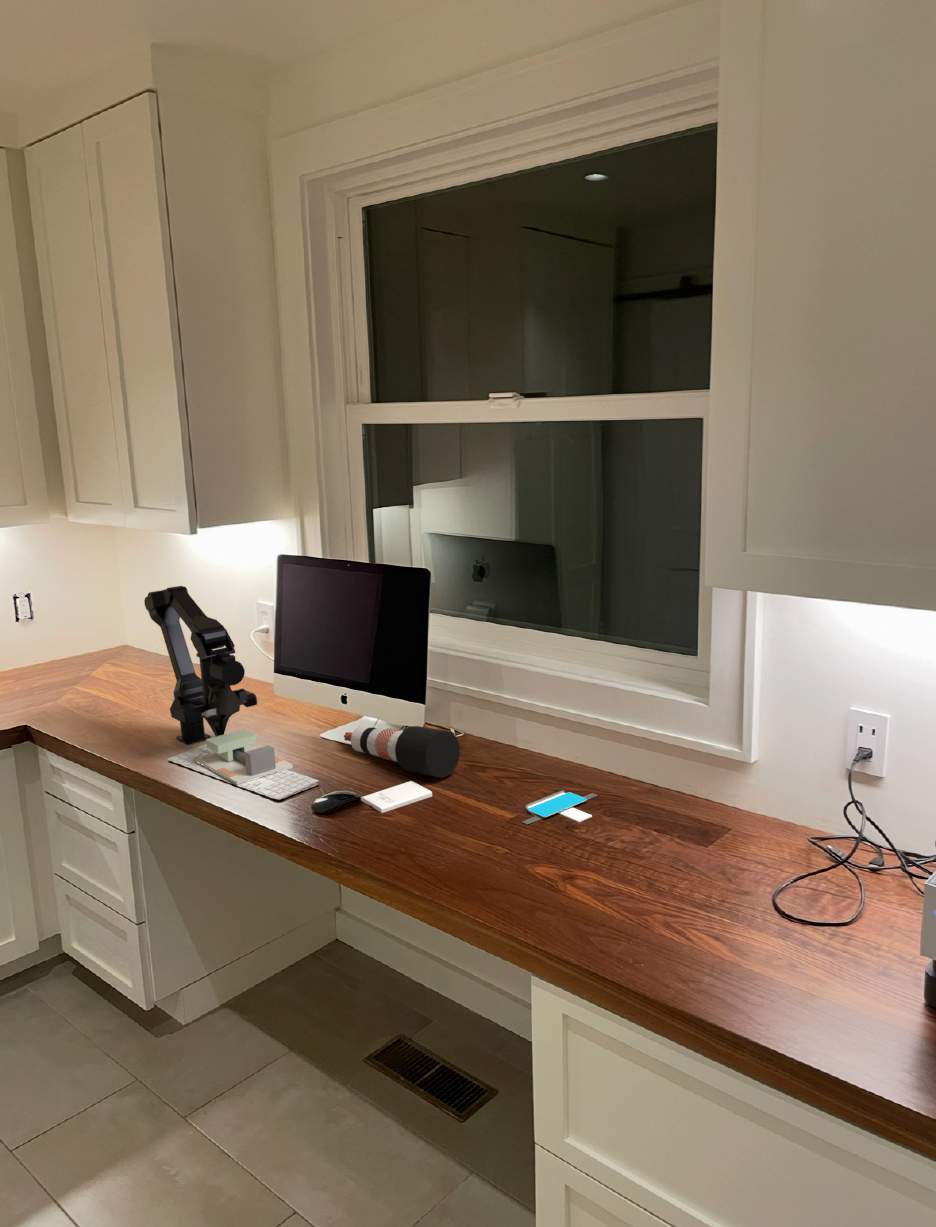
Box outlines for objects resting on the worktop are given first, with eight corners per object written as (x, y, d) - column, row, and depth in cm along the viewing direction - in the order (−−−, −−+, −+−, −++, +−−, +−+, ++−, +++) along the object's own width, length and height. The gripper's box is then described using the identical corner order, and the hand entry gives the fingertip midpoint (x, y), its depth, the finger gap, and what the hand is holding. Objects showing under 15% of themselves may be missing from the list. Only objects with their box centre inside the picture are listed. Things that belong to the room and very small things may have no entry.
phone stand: (549, 837, 174) (548, 829, 174) (506, 818, 183) (506, 810, 183) (619, 806, 186) (619, 799, 186) (576, 790, 195) (576, 782, 195)
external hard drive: (432, 798, 194) (381, 815, 186) (410, 787, 200) (360, 803, 193) (432, 791, 193) (381, 808, 186) (410, 780, 200) (360, 795, 192)
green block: (207, 757, 217) (205, 739, 216) (245, 746, 223) (244, 729, 223) (219, 764, 213) (217, 745, 212) (258, 752, 219) (256, 734, 218)
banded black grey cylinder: (357, 760, 227) (367, 720, 229) (453, 781, 203) (464, 736, 205) (325, 752, 220) (336, 711, 222) (421, 773, 196) (432, 726, 198)
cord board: (196, 762, 217) (193, 738, 216) (249, 746, 226) (247, 724, 225) (237, 785, 203) (234, 760, 202) (292, 767, 212) (290, 743, 211)
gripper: (192, 692, 207) (198, 758, 210) (266, 675, 219) (271, 737, 222) (170, 683, 215) (177, 747, 218) (243, 667, 227) (248, 727, 230)
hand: (220, 739), depth 222 cm, fingers closed
